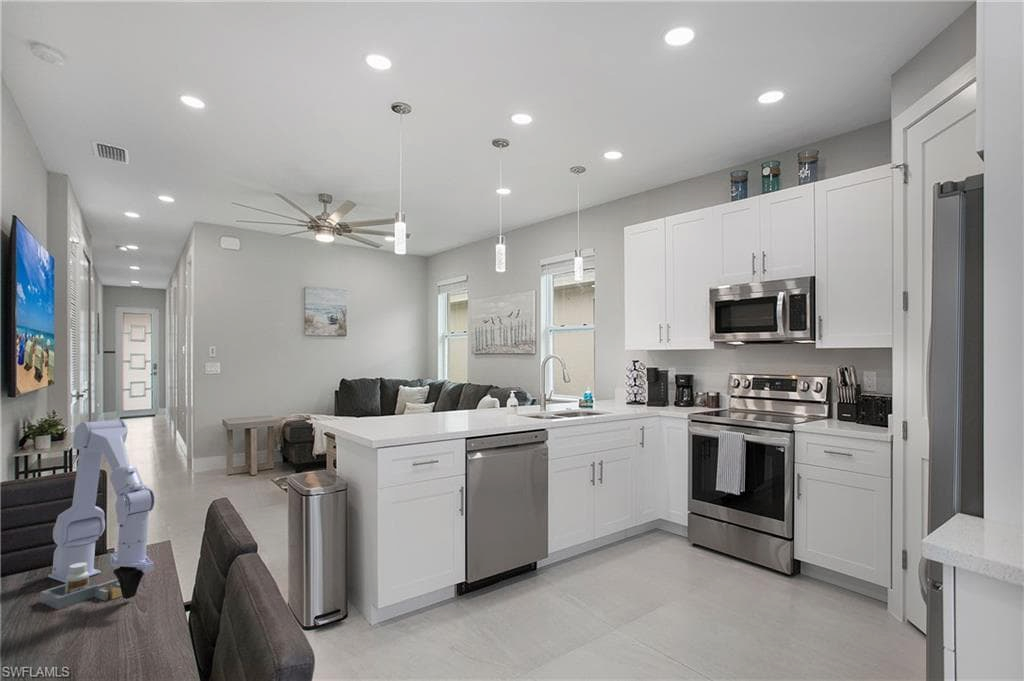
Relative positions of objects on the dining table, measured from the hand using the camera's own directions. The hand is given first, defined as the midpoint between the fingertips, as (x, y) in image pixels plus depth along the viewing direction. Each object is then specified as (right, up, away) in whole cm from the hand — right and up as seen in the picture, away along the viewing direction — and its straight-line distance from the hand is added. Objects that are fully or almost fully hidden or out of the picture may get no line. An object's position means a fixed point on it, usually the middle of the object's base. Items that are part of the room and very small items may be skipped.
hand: (129, 596), depth 123 cm
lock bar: (-7, -1, +3) cm, 8 cm away
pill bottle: (-15, -1, +2) cm, 15 cm away
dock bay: (-12, -1, +1) cm, 13 cm away
